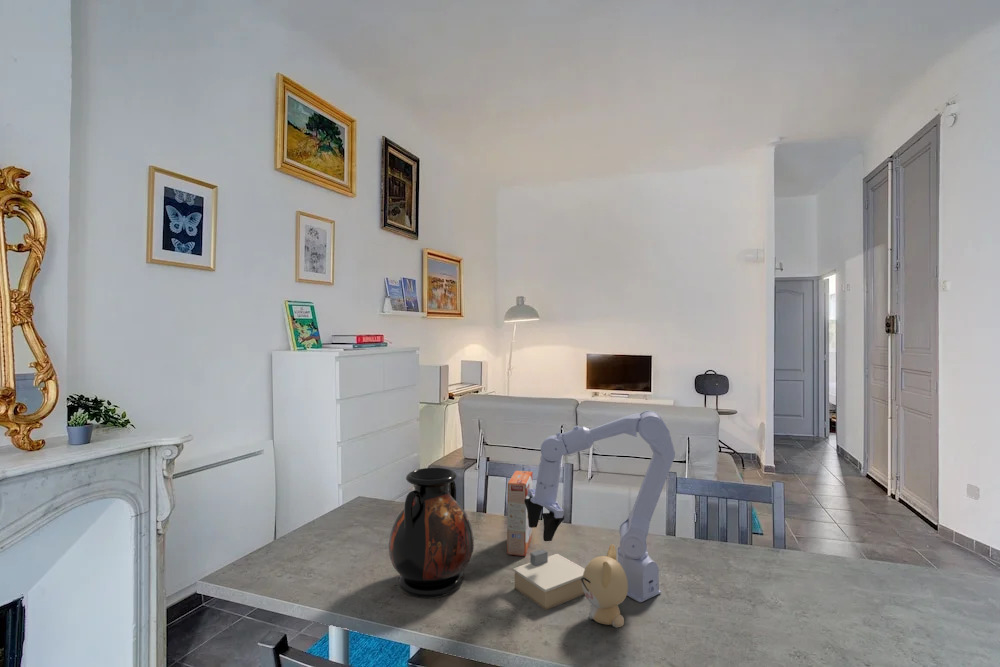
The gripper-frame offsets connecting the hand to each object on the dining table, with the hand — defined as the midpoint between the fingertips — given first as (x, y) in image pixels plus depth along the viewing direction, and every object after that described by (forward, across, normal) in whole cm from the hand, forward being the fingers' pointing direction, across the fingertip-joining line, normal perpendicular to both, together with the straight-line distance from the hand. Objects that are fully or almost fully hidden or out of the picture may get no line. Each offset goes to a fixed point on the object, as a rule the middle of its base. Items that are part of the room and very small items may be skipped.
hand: (539, 533), depth 126 cm
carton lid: (+7, +7, 0) cm, 10 cm away
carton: (+11, +8, +1) cm, 13 cm away
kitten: (+9, +23, +5) cm, 25 cm away
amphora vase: (+16, -9, -24) cm, 30 cm away
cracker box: (+13, -18, +6) cm, 23 cm away
